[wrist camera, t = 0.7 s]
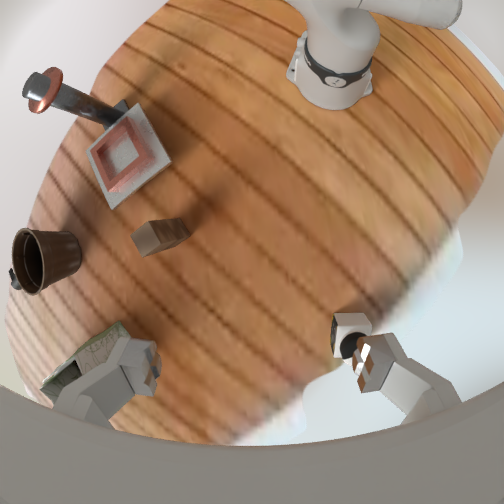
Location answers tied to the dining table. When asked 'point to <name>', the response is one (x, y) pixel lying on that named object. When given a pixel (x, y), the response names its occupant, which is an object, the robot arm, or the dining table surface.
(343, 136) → the dining table surface
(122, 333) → the grocery bag
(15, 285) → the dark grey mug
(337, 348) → the medicine bottle
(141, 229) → the tall wooden post
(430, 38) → the dining table surface
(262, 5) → the dining table surface
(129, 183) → the bracket
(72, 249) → the plant pot
